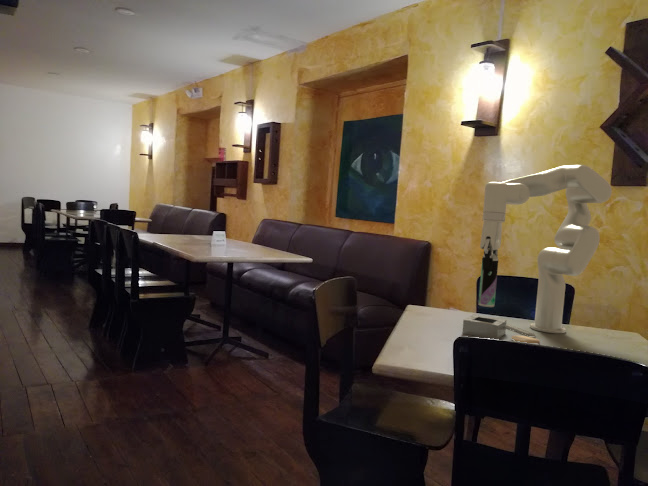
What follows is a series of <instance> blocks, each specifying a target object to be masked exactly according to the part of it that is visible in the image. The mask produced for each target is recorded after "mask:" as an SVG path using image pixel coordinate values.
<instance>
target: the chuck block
mask: <svg viewBox="0 0 648 486" xmlns="http://www.w3.org/2000/svg"><path fill="white" fill-rule="evenodd" d="M507 321H508V320H506V319H503V318H497V319H496V318H495V317H491V316H484V315H480V314H479V315H477V314H472V315H470V316H468V317H466V318H464V319H463V324H462V333H464V334H463V335H467V334H468V335H467V336H472V335H476V336H475V337H479V338H483V337H485V338H484V339H488V338H494V339H498V338H499V337H500V338H502V337H503V336H504V335H506V333H507V331H506V329H507V328H506V323H507ZM502 335H503V336H502ZM501 336H502V337H501ZM500 338H499V339H500ZM494 339H493V340H494ZM499 339H498V340H499Z"/></svg>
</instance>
